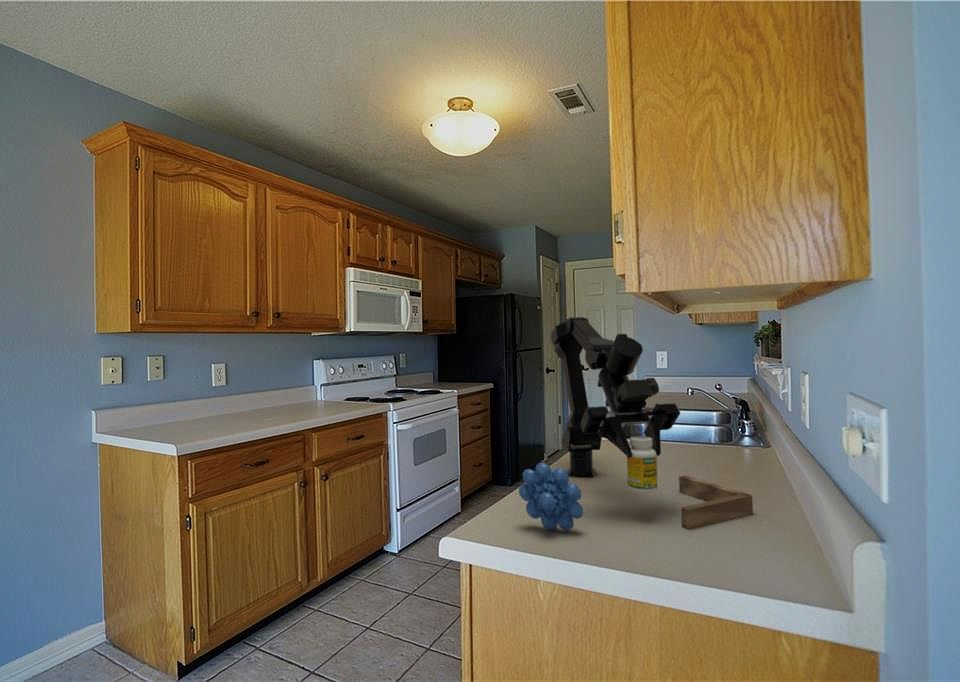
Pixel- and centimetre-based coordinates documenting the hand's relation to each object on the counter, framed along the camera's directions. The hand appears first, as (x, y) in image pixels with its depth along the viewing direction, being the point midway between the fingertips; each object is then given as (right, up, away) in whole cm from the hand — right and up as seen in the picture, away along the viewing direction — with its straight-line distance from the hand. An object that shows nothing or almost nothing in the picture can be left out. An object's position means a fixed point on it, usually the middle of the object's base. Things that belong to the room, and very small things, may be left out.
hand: (644, 455), depth 91 cm
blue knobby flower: (-18, -13, -4) cm, 23 cm away
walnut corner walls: (+11, -12, +6) cm, 17 cm away
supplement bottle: (0, -7, +1) cm, 7 cm away
